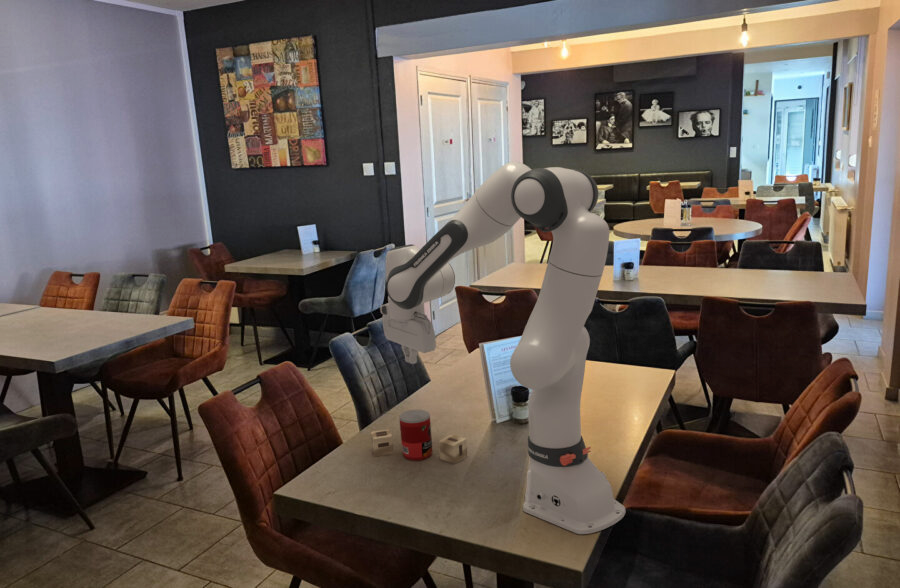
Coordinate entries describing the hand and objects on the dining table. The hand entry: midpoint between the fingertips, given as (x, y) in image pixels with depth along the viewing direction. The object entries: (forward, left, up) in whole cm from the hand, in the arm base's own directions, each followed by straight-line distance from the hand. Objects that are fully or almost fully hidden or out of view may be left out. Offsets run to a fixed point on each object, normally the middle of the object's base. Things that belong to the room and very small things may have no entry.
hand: (411, 362), depth 165 cm
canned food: (0, 0, -25) cm, 25 cm away
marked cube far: (+8, +6, -25) cm, 27 cm away
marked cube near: (-8, -6, -25) cm, 27 cm away
